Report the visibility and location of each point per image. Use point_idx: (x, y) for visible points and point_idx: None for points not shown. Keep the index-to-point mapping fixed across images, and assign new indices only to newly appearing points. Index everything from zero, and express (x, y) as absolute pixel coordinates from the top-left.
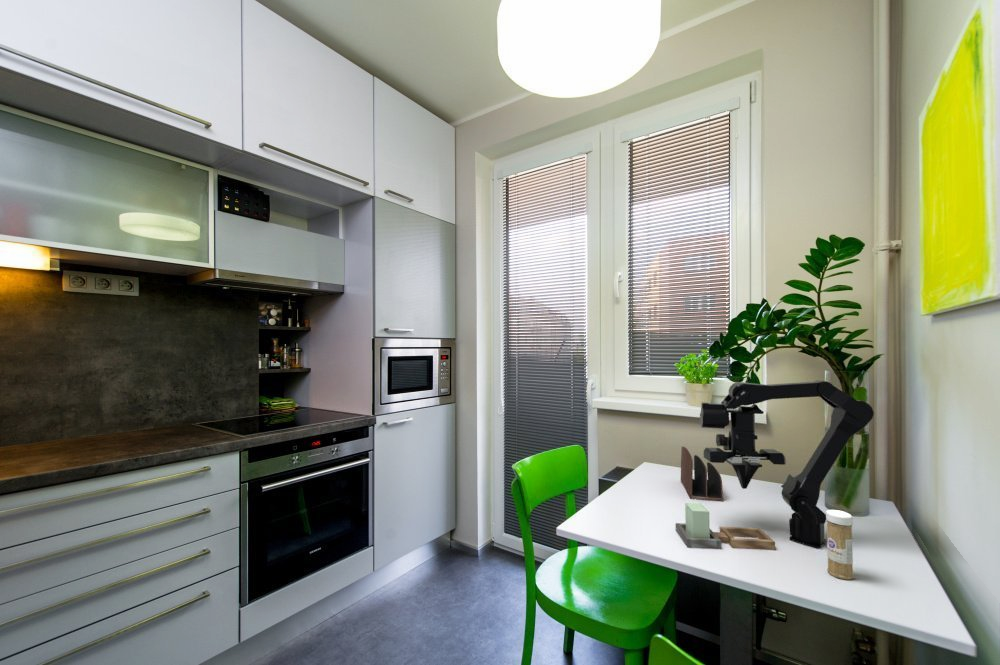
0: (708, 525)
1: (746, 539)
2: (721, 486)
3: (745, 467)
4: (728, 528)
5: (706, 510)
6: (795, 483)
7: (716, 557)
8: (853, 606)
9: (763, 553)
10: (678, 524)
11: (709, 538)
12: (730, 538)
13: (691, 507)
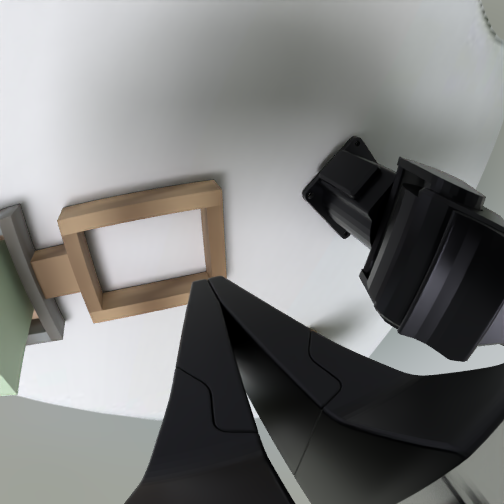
0: (21, 352)
1: (139, 308)
2: None
3: (323, 461)
4: (90, 229)
5: (6, 388)
6: (452, 354)
7: (58, 361)
8: (254, 411)
9: (177, 309)
10: None
11: (30, 320)
12: (89, 311)
13: None
